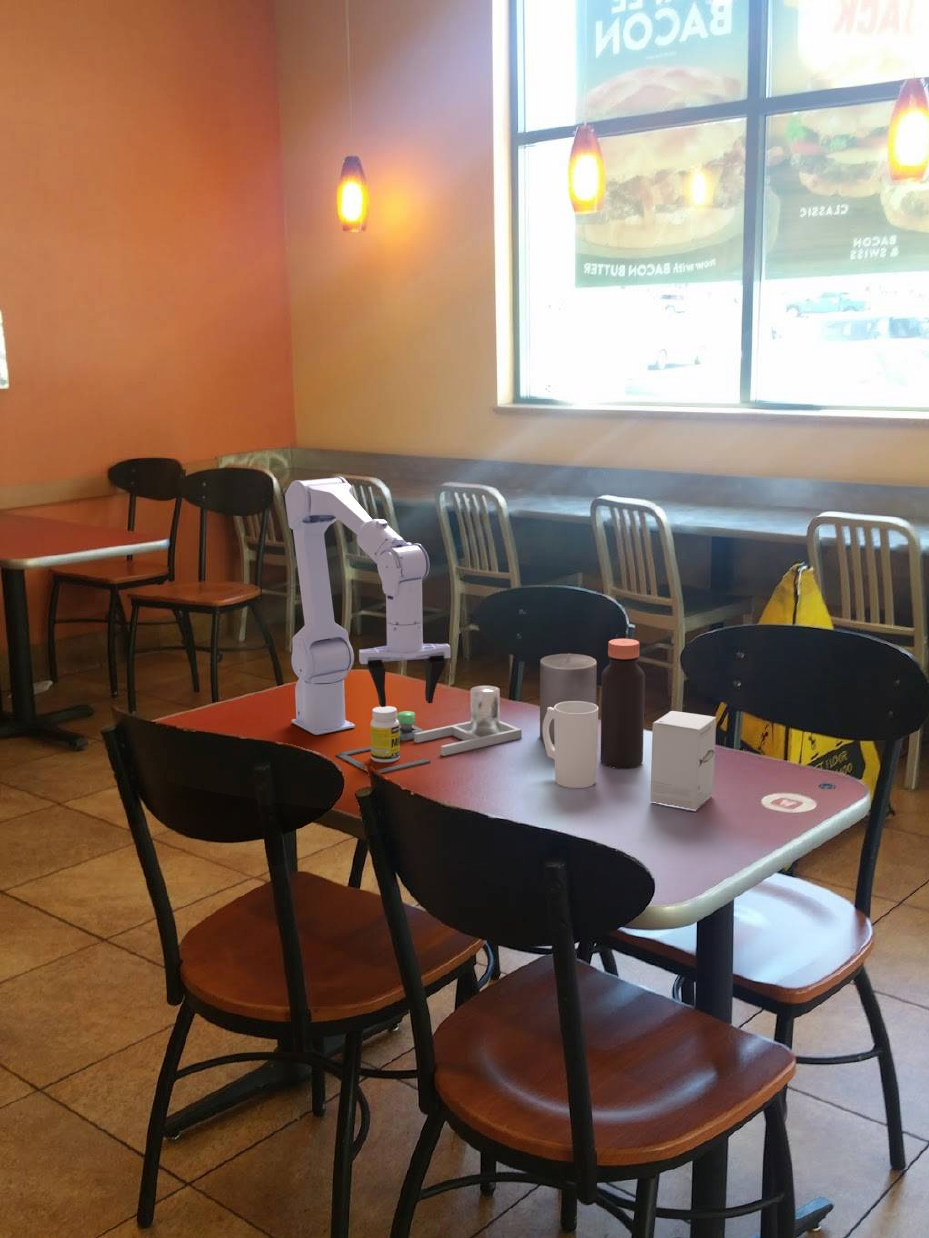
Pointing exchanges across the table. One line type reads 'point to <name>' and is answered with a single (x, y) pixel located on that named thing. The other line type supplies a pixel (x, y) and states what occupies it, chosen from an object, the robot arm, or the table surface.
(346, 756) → the tote
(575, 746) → the mug
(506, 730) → the workpiece holding fixture
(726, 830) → the table surface
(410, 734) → the grey button base
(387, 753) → the supplement bottle
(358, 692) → the table surface
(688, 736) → the supplement box
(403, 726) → the button
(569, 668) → the pillar candle
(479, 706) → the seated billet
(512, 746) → the table surface
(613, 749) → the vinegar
